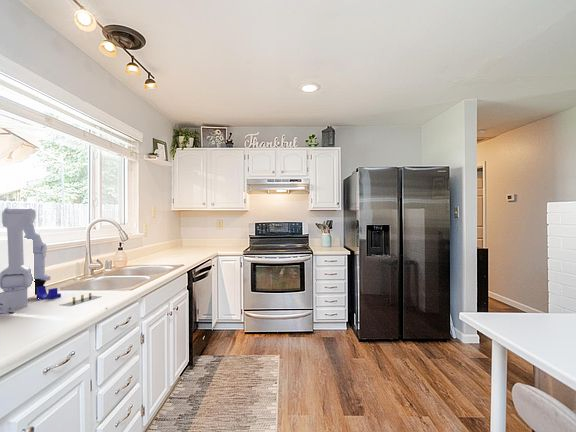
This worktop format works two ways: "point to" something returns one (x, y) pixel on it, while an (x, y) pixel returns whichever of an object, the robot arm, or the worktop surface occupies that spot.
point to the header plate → (80, 301)
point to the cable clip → (43, 294)
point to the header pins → (82, 297)
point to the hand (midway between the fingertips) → (37, 294)
